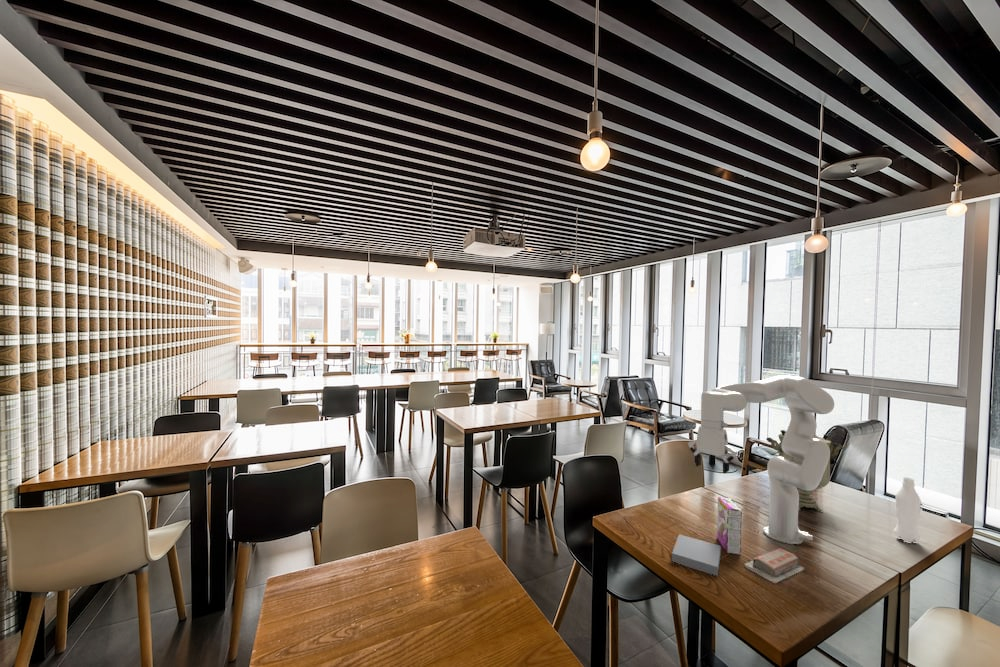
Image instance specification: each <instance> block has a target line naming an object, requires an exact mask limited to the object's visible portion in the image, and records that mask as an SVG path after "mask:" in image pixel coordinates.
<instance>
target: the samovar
mask: <svg viewBox="0 0 1000 667" xmlns="http://www.w3.org/2000/svg"><path fill="white" fill-rule="evenodd" d="M780 432H781V433H779V434H778V439H779V443H778V441H777V440H775V439H773V438H772V437H766V438H765V439H766V441H767V442H768V443H770V446H771V447H772V448H773V449H774V450H775V451H777V452H778V456H782V457H786V458H789V459H792V460H795V461H798V462H801V463H803V460H802V459H799V458H796V457H793V456H791V455H788V454H786V453H785V452H784V451H783V450H782V448H781V445H782V441H783V438H784V436H785V434H786V430H785V429H781V430H780ZM829 437H830V435H828V434H823V437H821V436H818V435H817V434H814V437H813V438H817V439H820V440H822V441H824V442H825V443H827V445H828V446H829V449H830V459H829V461H828V464H827V466H826V469H825V471H824V474H823V476H822V479H821V481H820V483H819V485H818V486H817V488H816V489H814V490H815V491H816V490H821V489H822V488H825V487H826V486H827V485H828V484H830V481H831V457H836V456H837V455H838V454H839V450H844V449H845V447H844V446H843V445H841V443H837V442H832V441H831V440H829V439H828V438H829ZM833 447H835V448H833ZM833 451H834V452H833ZM796 488H797V487H796ZM797 490H798V494H799V506H798V511H801V509H802V508H804V507H805V508H811V509H813V508H814V509H816V510H817V511H819V512H820V511H823V512H824V510H823V509H821V508H820V506H819V504H818V502H817V500H815V499H814V498H813V497H811V496H810V495H813V494H814V490H812V491H806V490H802V489H800V488H797Z"/></svg>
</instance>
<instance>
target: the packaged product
mask: <svg viewBox="0 0 1000 667" xmlns="http://www.w3.org/2000/svg"><path fill="white" fill-rule="evenodd" d="M798 563H799V557H798V556H797V555H796V554H794V553H792V552H790V551H788V550H786V549H783V548H781V547H779V548H775V549H773V550H770V551H768V552H765V553H763V554H760V555H757V556H755V557H753V559H752V560H751V561H748V562H745V563H744V568H745V567H746V569H747V570H749V571H751V572H753V573H754V572H755V574H756V573H757V574H756V575H758V576H760V577H762V578H763V579H765V580H768V581H770V582H771V583H774V584H777V583H780V582H781V581H784V580H786V579H788V578H790V576H791V577H793V576H795V575H796V573H797V574H799V573H802V572H803V571H805V567H803V566H802V565H799V564H798ZM794 574H795V575H794ZM792 575H793V576H792Z"/></svg>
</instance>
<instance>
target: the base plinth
mask: <svg viewBox="0 0 1000 667" xmlns="http://www.w3.org/2000/svg"><path fill="white" fill-rule="evenodd" d="M721 551H722V545H719V544H716V543H711V542H708V541H704V540H701V539H699V538H694V537H691V536H686V535H683V534H680V533H679V534H678V536H677V539H676V541H675V543H674V546H673V549H672V552H671V562H672V561H673V562H672V563H674V562H676V563H675V564H677V563H678V565H680V564H681V565H682V566H685V567H687V568H691V569H694V570H697V571H700V572H702V571H703V573H706V574H710V575H712V574H713V575H712V576H715V575H716V576H715V577H718V576H719V571H720V570H719V568H720V560H721Z"/></svg>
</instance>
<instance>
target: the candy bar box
mask: <svg viewBox="0 0 1000 667" xmlns="http://www.w3.org/2000/svg"><path fill="white" fill-rule="evenodd" d="M742 512H743V511H742V509H741V508H740V507H739V506H738V505H737V503H735V502H734V500H733V499H732V498H730V497H722V496H718V497H717V518H716V519H717V522H716V523H717V525H716V539H717V540H718V542H719V543H720V546H721V547H722V548H723V549H724V550H725V552H726V553H727V554H730V553H732V555H740V556H741V552H742V551H741V550H742V517H743V516H742V515H743V513H742Z"/></svg>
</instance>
